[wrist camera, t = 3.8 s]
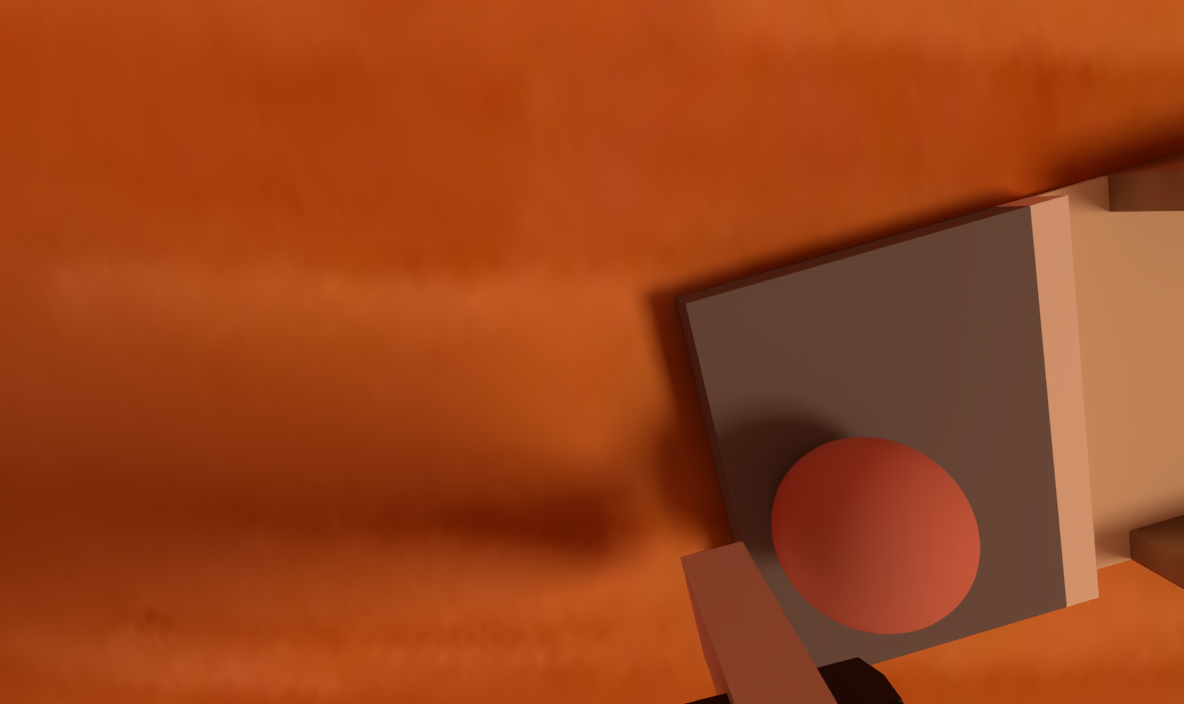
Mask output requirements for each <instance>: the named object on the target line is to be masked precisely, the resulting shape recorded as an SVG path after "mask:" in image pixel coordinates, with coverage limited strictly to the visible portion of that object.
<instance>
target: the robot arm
mask: <svg viewBox="0 0 1184 704" xmlns="http://www.w3.org/2000/svg"><path fill="white" fill-rule="evenodd" d="M681 562H682V566H683V570H684V574H685V578H686V583H687V587H688V591H689V595H690V599H691V603H692V608H693V612H694V616H695V620H696V624H697V628H698V633H699V637H700V641H701V645H702V649H703V653H704V657H705V659H706V662H707V665H708V668H709V671H710V674H711V677H712V680H713V683H714V686H715V689H716V692H717V696H713V697H709V698H705V699H701V700H697V701H694V702H690V703H686V704H904V703H903V701H902V699H901V698H900V696H899V695H898V693H897V692H896V691H895V689H894V688H893V687H892V685H891V684H890V682H889V681H888V680H887V678H886V677H885V676H884V675H883V674H882V673H881V672H879V671H878V670H876V669H875V668H873V667H872V666H870V665H869V664H868V663H866V662H865V661H863V660H862V659H860V658H859V657H856V658H852V659H848V660H844V661H841V662H837V663H833V664H829V665H825V666H821V667H817V668H816V666H815V664H814V663H813V661H812V659H811V658H810V656H809V654H808V652H807V651H806V649H805V647H804V646H803V644H802V642H801V641H800V639H799V637H798V635H797V634H796V632H795V630H794V629H793V627H792V625H791V623H790V622H789V620H788V618H787V617H786V615H785V613H784V612H783V610H782V608H781V606H780V605H779V603H778V601H777V600H776V598H775V596H774V595H773V593H772V591H771V589H770V588H769V586H768V584H767V583H766V581H765V579H764V578H763V576H762V574H761V572H760V571H759V569H758V567H757V566H756V564H755V562H754V560H753V559H752V557H751V555H750V554H749V552H748V550H747V549H746V547H745V545H744V543H743V542H742V541H741V542H737V543H733V544H729V545H725V546H721V547H718V548H714V549H710V550H706V551H702V552H698V553H694V554H690V555H686V556H683V557H681Z"/></svg>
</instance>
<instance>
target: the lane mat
mask: <svg viewBox="0 0 1184 704" xmlns="http://www.w3.org/2000/svg"><path fill="white" fill-rule="evenodd" d="M675 299H676V304H677V308H678V312H679V316H680V320H681V324H682V329H683V333H684V337H685V341H686V345H687V349H688V354H689V358H690V362H691V366H692V370H693V374H694V379H695V383H696V387H697V391H698V395H699V399H700V404H701V408H702V412H703V416H704V420H705V424H706V429H707V433H708V437H709V441H710V445H711V449H712V453H713V458H714V462H715V466H716V470H717V474H718V478H719V483H720V487H721V491H722V495H723V499H724V503H725V508H726V512H727V516H728V520H729V524H730V528H731V533H732V537H733V541H734V543H737V542H741V541H742V542H743V543H744V545H745V547H746V549H747V550H748V552H749V554H750V555H751V557H752V559H753V560H754V562H755V564H756V566H757V567H758V569H759V571H760V572H761V574H762V576H763V578H764V579H765V581H766V583H767V584H768V586H769V588H770V589H771V591H772V593H773V595H774V596H775V598H776V600H777V601H778V603H779V605H780V606H781V608H782V610H783V612H784V613H785V615H786V617H787V618H788V620H789V622H790V623H791V625H792V627H793V629H794V630H795V632H796V634H797V635H798V637H799V639H800V641H801V642H802V644H803V646H804V647H805V649H806V651H807V652H808V654H809V656H810V658H811V659H812V661H813V663H814V664H815V666H816V668H817V667H821V666H825V665H829V664H833V663H837V662H841V661H844V660H848V659H852V658H856V657H859V658H860V659H862V660H863V661H865V662H866V663H868V664H869V665H873V664H876V663H879V662H883V661H886V660H890V659H893V658H896V657H900V656H903V655H906V654H910V653H913V652H917V651H920V650H923V649H927V648H930V647H933V646H937V645H940V644H943V643H947V642H950V641H954V640H957V639H960V638H964V637H967V636H970V635H974V634H977V633H980V632H984V631H987V630H991V629H994V628H997V627H1001V626H1004V625H1007V624H1011V623H1014V622H1018V621H1021V620H1024V619H1028V618H1031V617H1034V616H1038V615H1041V614H1044V613H1048V612H1051V611H1055V610H1058V609H1061V608H1065V607H1068V606H1071V605H1075V604H1078V603H1081V602H1085V601H1088V600H1092V599H1095V598H1098V597H1099V594H1098V581H1097V569H1100V568H1104V567H1107V566H1110V565H1114V564H1117V563H1120V562H1124V561H1127V560H1131V555H1130V538H1129V531H1131V530H1134V529H1138V528H1141V527H1145V526H1148V525H1151V524H1155V523H1158V522H1162V521H1165V520H1168V519H1172V518H1175V517H1178V516H1182V515H1184V211H1143V212H1110V205H1109V188H1108V176H1102V177H1098V178H1094V179H1091V180H1087V181H1084V182H1080V183H1076V184H1073V185H1069V186H1066V187H1062V188H1059V189H1055V190H1052V191H1048V192H1045V193H1041V194H1038V195H1034V196H1031V197H1027V198H1024V199H1020V200H1017V201H1013V202H1010V203H1006V204H1003V205H999V206H996V207H992V208H988V209H985V210H981V211H978V212H974V213H971V214H967V215H964V216H960V217H957V218H953V219H950V220H946V221H943V222H939V223H936V224H932V225H929V226H925V227H922V228H918V229H915V230H911V231H907V232H904V233H900V234H897V235H893V236H890V237H886V238H883V239H879V240H876V241H872V242H869V243H865V244H862V245H858V246H855V247H851V248H848V249H844V250H841V251H837V252H834V253H830V254H827V255H823V256H819V257H816V258H812V259H809V260H805V261H802V262H798V263H795V264H791V265H788V266H784V267H781V268H777V269H774V270H770V271H767V272H763V273H760V274H756V275H753V276H749V277H746V278H742V279H739V280H735V281H731V282H728V283H724V284H721V285H717V286H714V287H710V288H707V289H703V290H700V291H696V292H693V293H689V294H686V295H682V296H679V297H675ZM850 437H873V438H882V439H887V440H891V441H894V442H898V443H901V444H903V445H906V446H909V447H911V448H913V449H915V450H917V451H919V452H920V453H922V454H924V455H926V456H927V457H929V458H930V459H931V460H933V461H934V462H935V463H937V464H938V465H939V466H941V467H942V468H943V469H944V470H945V471H946V472H947V473H948V474H949V475H950V476H951V477H952V479H953V480H954V481H955V482H956V483H957V484H958V486H959V487H960V489H961V490H962V492H963V493H964V495H965V496H966V498H967V500H968V502H969V504H970V506H971V508H972V510H973V513H974V516H975V519H976V522H977V525H978V531H979V538H980V558H979V564H978V569H977V573H976V577H975V579H974V582H973V584H972V586H971V588H970V590H969V591H968V593H967V595H966V596H965V597H964V599H963V600H962V601H961V603H960V604H959V605H958V606H957V607H956V608H955V609H954V610H953V611H952V612H951V613H949V614H948V615H947V616H945V617H944V618H943V619H941V620H940V621H938V622H936V623H934V624H933V625H930V626H928V627H926V628H923V629H920V630H917V631H913V632H908V633H900V634H877V633H870V632H864V631H860V630H857V629H853V628H851V627H848V626H845V625H843V624H841V623H838V622H836V621H834V620H832V619H831V618H829V617H827V616H826V615H824V614H823V613H821V612H820V611H818V610H817V609H816V608H815V607H813V606H812V605H811V604H810V603H809V602H808V601H807V600H805V599H804V598H803V597H802V596H801V594H800V593H799V592H798V591H797V590H796V588H795V587H794V586H793V585H792V584H791V582H790V581H789V579H788V577H787V576H786V574H785V572H784V570H783V569H782V567H781V565H780V562H779V560H778V557H777V554H776V551H775V548H774V543H773V539H772V528H771V516H772V509H773V504H774V499H775V496H776V493H777V490H778V488H779V486H780V484H781V482H782V480H783V479H784V477H785V475H786V474H787V473H788V471H789V470H790V469H791V468H792V466H793V465H794V464H795V463H796V462H797V461H798V460H799V459H801V458H802V457H803V456H805V455H806V454H807V453H808V452H810V451H812V450H813V449H815V448H817V447H819V446H821V445H823V444H826V443H829V442H832V441H835V440H839V439H845V438H850Z"/></svg>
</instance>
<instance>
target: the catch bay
mask: <svg viewBox="0 0 1184 704" xmlns="http://www.w3.org/2000/svg"><path fill="white" fill-rule="evenodd" d="M1102 176H1108V188H1109V205H1110V212H1143V211H1184V152H1182V153H1178V154H1175V155H1171V156H1167V157H1164V158H1160V159H1157V160H1153V161H1150V162H1146V163H1143V164H1139V165H1136V166H1132V167H1129V168H1125V169H1122V170H1118V171H1115V172H1111V173H1108V174H1104V175H1101V177H1102ZM1129 538H1130V555H1131V559H1132V560H1134V561H1136V562H1137V563H1139V564H1141V565H1143V566H1144V567H1146V568H1148V569H1150V570H1151V571H1153V572H1155V573H1156V574H1158V575H1160V576H1162V577H1163V578H1165V579H1167V580H1169V581H1170V582H1172V583H1174V584H1176V585H1177V586H1179V587H1181V588H1182V589H1184V515H1182V516H1178V517H1175V518H1172V519H1168V520H1165V521H1162V522H1158V523H1155V524H1151V525H1148V526H1145V527H1141V528H1138V529H1134V530H1131V531H1129Z"/></svg>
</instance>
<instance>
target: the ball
mask: <svg viewBox="0 0 1184 704" xmlns="http://www.w3.org/2000/svg"><path fill="white" fill-rule="evenodd" d="M771 528H772V539H773V543H774V548H775V551H776V554H777V557H778V560H779V562H780V565H781V567H782V569H783V570H784V572H785V574H786V576H787V577H788V579H789V581H790V582H791V584H792V585H793V586H794V587H795V588H796V590H797V591H798V592H799V593H800V594H801V596H802V597H803V598H804V599H805V600H807V601H808V602H809V603H810V604H811V605H812V606H813V607H815V608H816V609H817V610H818V611H820V612H821V613H823V614H824V615H826V616H827V617H829V618H831V619H832V620H834V621H836V622H838V623H841V624H843V625H845V626H848V627H851V628H853V629H857V630H860V631H864V632H870V633H877V634H900V633H908V632H913V631H917V630H920V629H923V628H926V627H928V626H930V625H933V624H934V623H936V622H938V621H940V620H941V619H943V618H944V617H945V616H947V615H948V614H949V613H951V612H952V611H953V610H954V609H955V608H956V607H957V606H958V605H959V604H960V603H961V601H962V600H963V599H964V597H965V596H966V595H967V593H968V591H969V590H970V588H971V586H972V584H973V582H974V579H975V577H976V573H977V569H978V564H979V558H980V538H979V531H978V525H977V522H976V519H975V516H974V513H973V510H972V508H971V506H970V504H969V502H968V500H967V498H966V496H965V495H964V493H963V492H962V490H961V489H960V487H959V486H958V484H957V483H956V482H955V481H954V480H953V479H952V477H951V476H950V475H949V474H948V473H947V472H946V471H945V470H944V469H943V468H942V467H941V466H939V465H938V464H937V463H935V462H934V461H933V460H931V459H930V458H929V457H927V456H926V455H924V454H922V453H920V452H919V451H917V450H915V449H913V448H911V447H909V446H906V445H903V444H901V443H898V442H894V441H891V440H887V439H882V438H873V437H850V438H845V439H839V440H835V441H832V442H829V443H826V444H823V445H821V446H819V447H817V448H815V449H813V450H812V451H810V452H808V453H807V454H806V455H805V456H803V457H802V458H801V459H799V460H798V461H797V462H796V463H795V464H794V465H793V466H792V468H791V469H790V470H789V471H788V473H787V474H786V475H785V477H784V479H783V480H782V482H781V484H780V486H779V488H778V490H777V493H776V496H775V499H774V504H773V509H772V516H771Z"/></svg>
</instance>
